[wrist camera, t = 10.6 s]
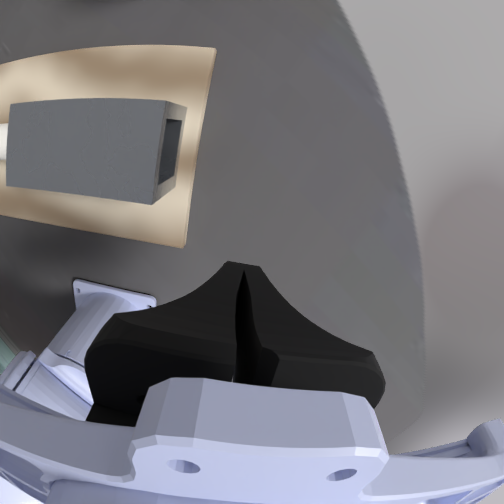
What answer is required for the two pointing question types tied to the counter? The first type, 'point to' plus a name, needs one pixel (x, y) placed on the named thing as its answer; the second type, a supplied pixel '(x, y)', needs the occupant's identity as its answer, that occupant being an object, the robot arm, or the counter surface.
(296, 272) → the counter surface
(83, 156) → the sleeve
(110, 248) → the counter surface
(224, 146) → the counter surface
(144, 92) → the base board
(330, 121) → the counter surface
